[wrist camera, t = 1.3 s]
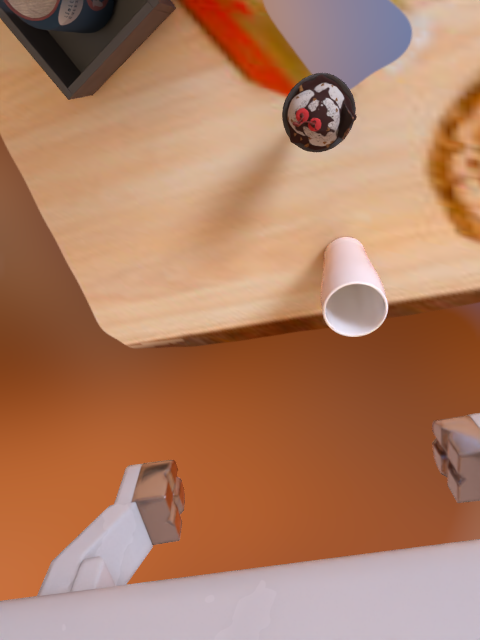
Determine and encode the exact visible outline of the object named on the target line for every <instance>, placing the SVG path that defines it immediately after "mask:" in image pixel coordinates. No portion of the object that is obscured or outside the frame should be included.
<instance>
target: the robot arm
mask: <svg viewBox="0 0 480 640" xmlns="http://www.w3.org/2000/svg"><path fill="white" fill-rule="evenodd" d="M432 429H433V430H432V431H433V433H434V435H435V436H436V439H435V440H434V442H433V443H432V444H433V454H434V458H435V462H436V465H437V467H438V469H439V471H440V472H441V474H442V475H444V476H446V477H447V478H448V487H449V488H450V490H451V492H452V494H453V495H454V497H455V499H456V501H457V502H458V503H461V502H470V501H479V500H480V413H477V414H471V415H467V416H461V417H455V418H448V419H442V420H435V421H433V425H432ZM177 471H178V468H177V465H176V462H175V461H174V460H167V461H159V462H152V463H144V464H138V465H131V466H128V467H127V468H126V470H125V473H124V476H123V479H122V482H121V485H120V488H119V491H118V494H117V497H116V500H115V504H114V505H111V506H109V507H108V508H107V509H106V510H105V511H104V512H103V513H102V514H101V515H100V516H99V517H97V518H96V519H95V520H94V521H93V522H92V523H91V524H90V525H89V526H88V527H87V528H86V529H85V530H84V531H83V532H82V533H81V534H80V535H79V536H78V537H77V538H76V539H75V540H74V541H73V542H71V543H70V544H69V545H68V546H67V547H66V548H65V549H64V550H63V551H62V552H61V553H60V554H59V555H58V556H57V557H56V558H55V559H54V560H53V561H52V562H51V565H50V567H49V569H48V572H47V574H46V576H45V579H44V581H43V583H42V586H41V588H40V591H39V593H38V595H37V596H35V597H28V598H20V599H12V600H4V601H0V640H480V539H477V540H469V541H462V542H454V543H447V544H439V545H431V546H423V547H415V548H407V549H400V550H391V551H384V552H376V553H368V554H360V555H352V556H345V557H337V558H329V559H322V560H314V561H306V562H299V563H291V564H284V565H276V566H268V567H260V568H252V569H245V570H237V571H230V572H221V573H214V574H207V575H199V576H191V577H184V578H175V579H167V580H160V581H152V582H144V583H137V584H129V585H126V584H127V582H128V581H129V580H130V578H131V577H132V576H133V574H134V573H135V571H136V570H137V568H138V567H139V566H140V564H141V563H142V561H143V560H144V558H145V557H146V556H147V554H148V553H149V551H150V550H151V548H152V547H153V546H152V545H156V544H162V543H168V542H173V541H179V540H180V533H181V526H182V520H181V517H180V514H181V513H182V512H183V510H184V504H185V494H184V487H183V484H182V480H181V479H180V478H178V477H177Z"/></svg>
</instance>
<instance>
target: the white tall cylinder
mask: <svg viewBox="0 0 480 640" xmlns="http://www.w3.org/2000/svg"><path fill="white" fill-rule="evenodd" d="M321 306H322V312H323V317H324V320H325V322H326V324H327V325H328V326H329V327H330V328H331V329H332V330H333V331H335V332H336V333H338V334H341V335H344V336H350V337H357V336H363V335H366V334H369V333H371V332H373V331H374V330H376V329H377V328H378V327H379V326H380V325H381V324H382V323H383V322H384V320H385V318H386V316H387V312H388V302H387V297H386V293H385V290H384V287H383V284H382V282H381V279H380V277H379V275H378V274H377V272H376V270H375V268H374V267H373V265H372V263H371V261H370V259H369V258H368V256H367V254H366V251H365V248H364V246H363V245H362V244H361V243H360V242H359V241H358V240H356V239H354V238H352V237H340V238H337V239H335V240H334V241H332V242H331V243H330V244H329V245H328V246H327V248H326V250H325V253H324V268H323V277H322V284H321Z"/></svg>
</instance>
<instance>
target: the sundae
mask: <svg viewBox="0 0 480 640" xmlns="http://www.w3.org/2000/svg"><path fill="white" fill-rule="evenodd" d="M355 110H356V108H355V102H354V98H353V95H352V93H351V91H350V89H349V88H348V87H347V85H346V84H345V83H344V82H343V81H341V80H340V79H339V78H337V77H336V76H334V75H331V74H328V73H317V74H313V75H310V76H308V77H306V78H304V79H302V80H301V81H300V82H299V83H298V84H296V85H295V86H294V87H293V88H292V90H291V91H290V93H289V94H288V96H287V98H286V100H285V103H284V106H283V113H282V117H283V124H284V128H285V130H286V133H287V135H288V136H289V138H290V141H291V142H292V143H294V144H295V145H297V146H298V147H300V148H302V149H303V150H306V151H310V152H322V151H326V150H329V149H332V148H334V147H335V146H337V145H338V144H339V143H340V142H342V141H343V140H344V139H345V137H346V136H347V135H348V133H349V131H350V130H351V128H352V125H353V122H354V121H355V120H356V114H355Z"/></svg>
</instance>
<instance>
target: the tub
mask: <svg viewBox="0 0 480 640" xmlns="http://www.w3.org/2000/svg"><path fill="white" fill-rule="evenodd" d="M175 9H176V7H175V6H174V4H173V3H172V2H171V0H114V7H113V12H112V15H111V17H110V19H109V21H108V22H107V24H106V25H105V26H104V27H103V28H102V29H100V30H99V31H97V32H94V33H75V32H64V31H53V30H42V29H38V28H35V27H32V26H30V25H28V24H27V23H25V22H24V21H23V20H21V19H20V18H19V17H18V16H17V15H16V14H15V13H14V12H13V11H12V10H11V9H10V8H9V7H8V6H7V5H6V3H5V2H4V0H0V18H1V19H2V21H3V22H4V23H5V24H6V25H7V27H8V28H9V29H10V30H11V31H12V33H13V34H14V35H15V36H16V37H17V39H18V40H19V41H20V42H21V43H22V45H23V46H24V47H25V48H26V49H27V51H28V52H29V53H30V54H31V55H32V57H33V58H34V59H35V60H36V61H37V63H38V64H39V65H40V66H41V67H42V69H43V70H44V71H45V72H46V73H47V75H48V76H49V77H50V78H51V79H52V81H53V82H54V83H55V84H56V85H57V87H58V88H59V89H60V90H61V91H62V93H63V94H64V95H65V96H66V97H67V99H68V100H70V99H75V98H80V97H85V96H90V95H93V94H94V93H95V92H96V91H97V90H98V89H99V88H100V87H101V86H102V85H103V84H104V83H105V82H106V81H107V79H108V78H109V77H110V76H111V75H112V74H113V73H114V72H115V71H116V70H117V69H118V68H119V67H120V66H121V65H122V64H123V63H124V62H125V61H126V60H127V59H128V58H129V57H130V56H131V55H132V53H133V52H134V51H135V50H136V49H137V48H138V47H139V46H140V45H141V44H142V43H143V42H144V41H145V40H146V39H147V38H148V37H149V36H150V35H151V34H152V33H153V32H154V31H155V30H156V28H157V27H158V26H159V25H160V24H161V23H162V22H163V21H164V20H165V19H166V18H167V17H168V16H169V15H170V14H171V13H172V12H173V11H174V10H175Z"/></svg>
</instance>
